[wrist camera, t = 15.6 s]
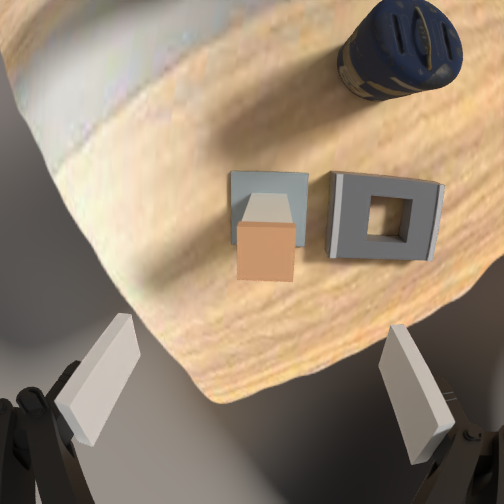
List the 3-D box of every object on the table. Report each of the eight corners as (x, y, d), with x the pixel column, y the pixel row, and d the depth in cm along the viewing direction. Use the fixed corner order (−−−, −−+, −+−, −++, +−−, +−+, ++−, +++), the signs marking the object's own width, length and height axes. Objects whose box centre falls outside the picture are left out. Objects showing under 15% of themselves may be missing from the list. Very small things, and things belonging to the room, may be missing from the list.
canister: (403, 49, 32) (473, 12, 15) (397, 110, 35) (472, 102, 18) (337, 31, 32) (377, -29, 15) (330, 93, 35) (372, 65, 19)
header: (324, 249, 43) (328, 258, 40) (330, 170, 39) (335, 173, 36) (424, 252, 42) (433, 261, 39) (435, 181, 38) (446, 185, 35)
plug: (250, 226, 42) (237, 279, 27) (250, 191, 40) (236, 226, 25) (286, 228, 42) (292, 281, 27) (287, 192, 40) (296, 228, 25)
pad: (232, 242, 44) (231, 244, 43) (231, 170, 40) (230, 171, 39) (303, 245, 43) (304, 246, 42) (308, 173, 39) (308, 173, 39)
